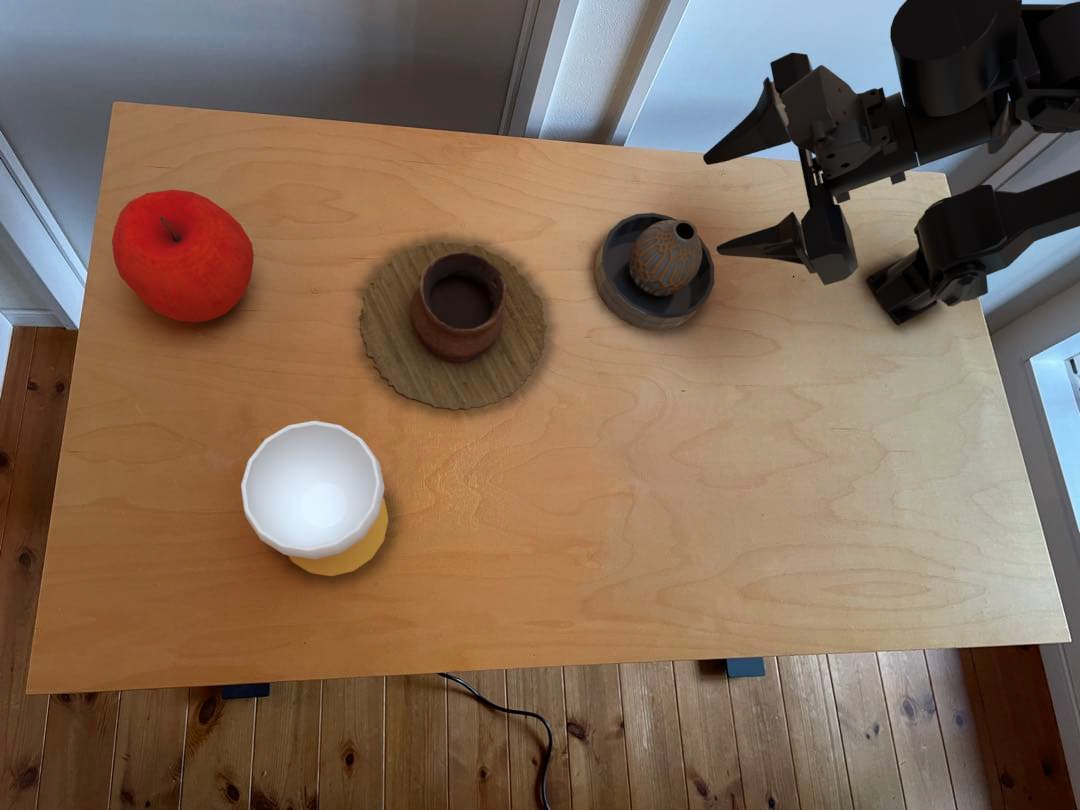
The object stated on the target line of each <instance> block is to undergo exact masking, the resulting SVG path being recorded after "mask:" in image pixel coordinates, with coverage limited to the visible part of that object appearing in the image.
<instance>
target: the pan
mask: <svg viewBox="0 0 1080 810" xmlns="http://www.w3.org/2000/svg"><path fill="white" fill-rule="evenodd" d="M666 220H675V221H678V220H679V219H676V218H674V217H672V216H670V215H666V214H661V213H656V212H646V213H644V212H643V213H635V214H633V215H630V216H628V217H625V218H623V219H621V220H620V221H618V223H616V224H615V225H614V226H613V227H612V228H611V229H610V230H609V232H608V233H607V235H606V237H605V239H604V241H603V243H602V245H601V247H600V249H599V251H598V252H597V254H596V258H595V263H594V281H595V285H596V288H597V291H598V293H599V295H600V297H601V299H602V300H603V302H604V303H605V304H606V306H607V307H608V309H610V311H612V313H614V314H615V315H616V316H617V317H618V318H619V319H621V320H623V321H624V322H626V323H628V324H630V325H632V326H635V327H636V328H640V329H643V330H650V331H664V330H669V329H673V328H676V327H679V326H680V325H682V324H684V323H686V322H687V321H689V320H690V319H691V318H692V316H693V315H694V314H695V313H696V312H698V310H699V309H700V308H701V307H702V306H703V305H704V304H705V303H706V301H707V300H708V299H710V298H709V297H710V295H711V293H712V290H713V288H714V284H715V265H714V260H713V258H712V256H711V252H710V250H709V248H708V247H707V245H706V244H705V242H704V240H703V239H702V238H701V236H700V235H699V234H697V235H698V237H699V240H700V242H701V246H702V260H701V264H700V267H699V270H698V272H697V274H696V276H695V277H694V278H693V280H692V281H691V282H690V283H689V284H688V285H687V286H686V287H685V288H684V289H682V290H680V291H679V292H677V293H674V294H672V295H668V296H654V295H651V294H648V293H646V292H644V291H643V290H641V289H640V288H639V287H638V286H637V285H636V283H635V282H634V281H633V279H632V277H631V274H630V269H629V257H630V252H631V249H632V247H633V245H634V243H635V241H636V240H637V238H638V237H639V235H640V234H641V233H642V232H643V231H644V230H646V229H647V228H648V227H650V226H651V225H653V224H655V223H658V222H661V221H666Z"/></svg>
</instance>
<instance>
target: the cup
mask: <svg viewBox="0 0 1080 810" xmlns="http://www.w3.org/2000/svg"><path fill="white" fill-rule="evenodd" d="M240 488H241V489H240V490H241V496H242V497H241V498H242V503H243V511H244V515H245V518H246V520H247V521H248V523H249V524H250V526H251V527H252V529H253V530H254V532H255V534H256V535H257V537H258V538H259V540H260V541H262V542H263V543H264V544H266V545H268V546H269V547H271V548H273V549H274V550H276V551H277V552H279V553H281V554H282V555H284V556H287V557H288V558H289V560H290V561H291V562H292V563H293V564H295V565H297V566H298V567H300V568H301V569H302V570H304V571H307V572H308V573H309V574H314V575H321V576H327V577H335V576H339V575H344V574H348V573H352V572H355V571H357V570H358V569H359V568H360V567H362V566H364V565H365V564H366V563H368V562H369V561H372V559H373V558H374V556H375V555H376V553H377V552H378V550H379V549H380V547H381V546H382V545H383V543H384V541H385V539H386V533H387V528H388V526H389V525H388V524H389V515H388V510H387V505H386V501H385V500H386V499H385V498H384V495H385V494H384V493H385V489H386V487H385V482H384V477H383V472H382V467H381V463H380V461H379V460H378V458H377V457H376V455H375V454H374V453H373V451H372V450H371V448H370V447H369V446H368V444H367V442H365V441H364V439H363V438H362V437H360V436H358V435H357V434H355V433H354V432H352V431H350V430H348V429H347V428H345V427H344V426H342V425H340V424H335V423H330V422H324V421H319V420H310V421H304V422H300V423H294V424H288V425H286V426H285V427H283V428H281V429H280V430H278V431H276V432H274V433H273V434H271V435H269V436H267V437H265V439H264V440H262V442H261V443H260V445H259V446H258V447H257V449H256V450H255V451H254V452H253V454H251V456H250V457H249V458H248V460H247V463H246V466H245V470H244V473H243V477H242V480H241V483H240Z"/></svg>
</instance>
